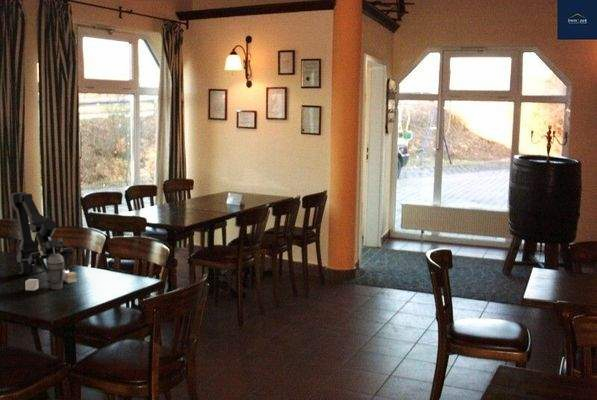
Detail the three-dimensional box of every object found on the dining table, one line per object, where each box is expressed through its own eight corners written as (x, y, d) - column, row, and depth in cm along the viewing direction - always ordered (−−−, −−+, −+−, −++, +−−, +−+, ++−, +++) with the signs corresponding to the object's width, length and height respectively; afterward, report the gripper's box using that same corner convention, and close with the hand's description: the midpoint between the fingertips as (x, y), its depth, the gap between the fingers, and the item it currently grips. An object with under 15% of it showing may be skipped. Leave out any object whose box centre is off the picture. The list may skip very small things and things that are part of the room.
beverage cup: (54, 291, 280) (51, 246, 277) (44, 288, 285) (42, 243, 282) (68, 287, 286) (66, 243, 283) (59, 284, 290) (57, 241, 288)
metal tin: (53, 280, 298) (52, 271, 297) (61, 277, 304) (61, 268, 303) (64, 281, 296) (63, 273, 295) (72, 278, 302) (72, 270, 301)
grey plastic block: (25, 290, 282) (25, 281, 281) (29, 287, 286) (29, 279, 285) (34, 290, 281) (34, 281, 281) (38, 288, 285) (38, 279, 285)
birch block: (64, 281, 296) (64, 273, 295) (73, 280, 299) (72, 271, 298) (68, 283, 293) (68, 274, 292) (76, 281, 296) (76, 273, 295)
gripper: (29, 235, 278) (40, 264, 272) (71, 229, 291) (82, 258, 285) (23, 250, 285) (34, 279, 279) (64, 244, 298) (75, 272, 291)
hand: (57, 271), depth 283 cm, fingers open, 8 cm apart
